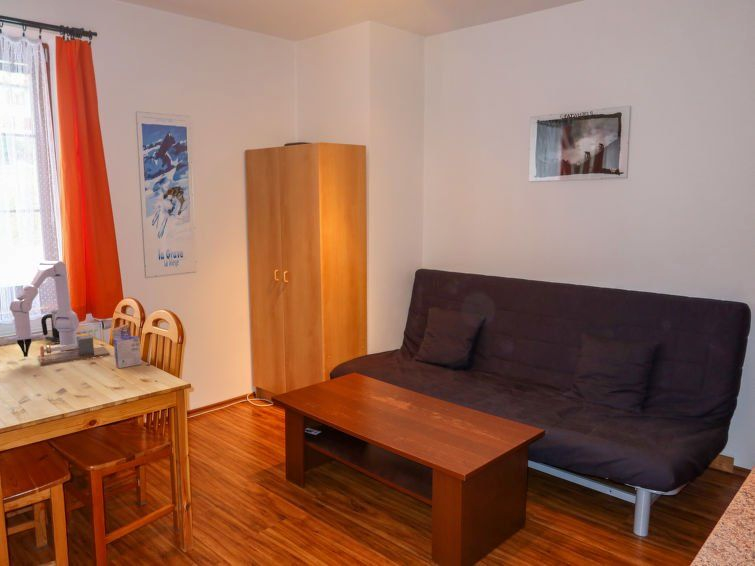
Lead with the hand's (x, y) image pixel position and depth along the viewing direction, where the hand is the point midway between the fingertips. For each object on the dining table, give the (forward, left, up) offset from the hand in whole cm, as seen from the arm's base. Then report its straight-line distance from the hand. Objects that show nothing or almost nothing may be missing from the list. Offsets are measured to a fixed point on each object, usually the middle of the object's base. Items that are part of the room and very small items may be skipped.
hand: (25, 356), depth 264 cm
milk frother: (-40, +17, -4) cm, 43 cm away
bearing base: (0, +19, -3) cm, 19 cm away
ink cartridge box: (+29, +37, -4) cm, 47 cm away
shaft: (0, +15, -1) cm, 15 cm away
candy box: (+19, +37, -4) cm, 42 cm away
